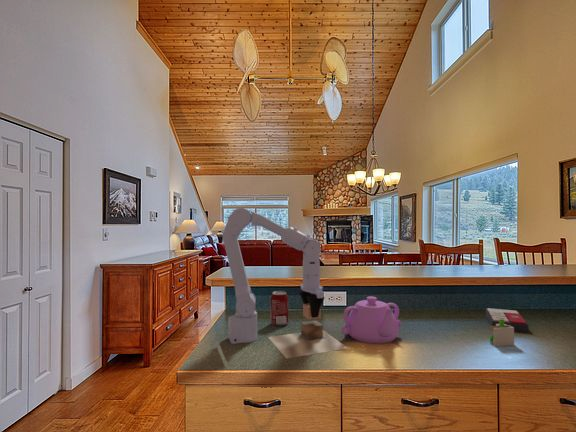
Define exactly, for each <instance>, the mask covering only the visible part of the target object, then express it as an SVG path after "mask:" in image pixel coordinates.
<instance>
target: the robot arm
mask: <svg viewBox="0 0 576 432" xmlns="http://www.w3.org/2000/svg"><path fill="white" fill-rule="evenodd" d="M250 224H251V225H250ZM249 225H250V226H251V227H261V228H263V229H264V230H268V231H269V232H271V233H274V234H275V235H276V236H277V235H278V236H279V237H280V238H281V240H282V242H283V244H286V245H288V246H289V247H292V248H294V249H295V250H297V251H302V255H303V256H302V258H303V260H302V283H300V290H302V291H299V293H298V294H299V297H300V298H301V301H302V305H303V304H306V303H309V304H310V311H311V316H312V318H314V317H318V315H319V311H320V307H321V306H322V304H323V302H324V300H325V296H324V295H325V294H324V293H325V292H324V286H321V273H320V272H321V271H320V270H321V268H320V267H321V265H320V263H321V262H320V254H321V252H322V247H321V244H320V242H319V241H318V240H316V239H314V238H312V237H311V235H309V234H305V233H304V232H302V231H299V229H298V228H297V227H295V226H294V227H292V226H288V227H283V226H282V225H280V224H278V223H277V222H274V221H272V220H271V219H270V218H268V217H266V216H264V215H263V214H260V213H257V212H255V211H251V210H248V209H247V208H245V207H237V208H236V209H234V210H233V211H232V212H231V214H230V215H229V216H228V217H227V222H226V224H225V226H224V230H223V232H222V236H221V237H222V240H223V245H224V246H223V247H224V249H225V254H226V258H227V261H228V266H229V269H230V273H231V274H230V275H231V277H232V282H233V286H234V293H235V300H236V303H235V314H234V315H230V316H228V319H227V320H228V321H227V325H228V326H227V327H228V328H227V330H228V332H227V334H228V335H227V336H228V340H229V342H230V344H231V345H235V344H242V343H245V344H246V343H253V342H255V341H257V340H258V312H257V311H256V303H257V298H256V295H255V294H254V293H253V292H252V290H251V289H252V288H251V286H250V283H249V279H248V276H247V271H246V267H245V264H244V260H243V255H242V251H241V247H240V244H239V239H238V238H239V236H240V235H241V233H242V232H243V230H244V229H245V228H246V227H248V226H249ZM321 308H322V307H321Z"/></svg>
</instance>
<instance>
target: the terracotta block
mask: <svg viewBox="0 0 576 432" xmlns="http://www.w3.org/2000/svg"><path fill="white" fill-rule="evenodd" d="M321 310H322V307H320V311H319V315H318V317H314V318H312V316H311V311H310V304H309V303H306V304H303V303H302V316H303V317H305V318H306V319H307V320H315V319H321V318H322V311H321Z"/></svg>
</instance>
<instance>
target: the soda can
mask: <svg viewBox="0 0 576 432" xmlns="http://www.w3.org/2000/svg"><path fill="white" fill-rule="evenodd" d="M270 323H271V325H274V326H277V327H283V326H286V325H287V324H288V323H289V296H288V295H287V292H286V291H283V290H276V291H275V290H274V291H272V295H270Z"/></svg>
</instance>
